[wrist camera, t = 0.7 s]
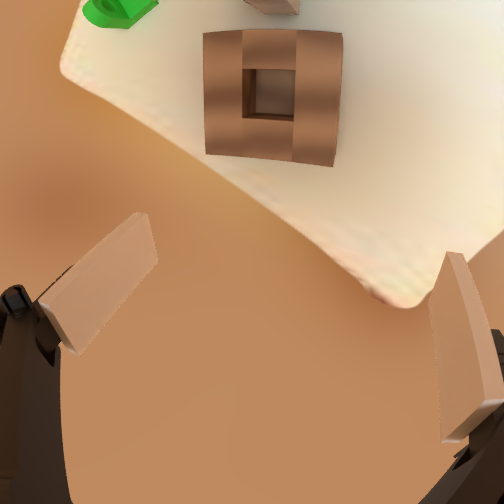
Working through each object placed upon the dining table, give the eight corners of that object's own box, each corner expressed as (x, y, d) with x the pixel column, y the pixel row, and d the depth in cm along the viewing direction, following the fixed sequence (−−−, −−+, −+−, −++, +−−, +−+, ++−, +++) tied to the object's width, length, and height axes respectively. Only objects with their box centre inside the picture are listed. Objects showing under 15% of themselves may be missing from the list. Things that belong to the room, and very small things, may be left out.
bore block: (224, 37, 30) (203, 33, 25) (342, 40, 27) (342, 33, 22) (225, 142, 38) (205, 154, 33) (335, 153, 35) (332, 167, 30)
